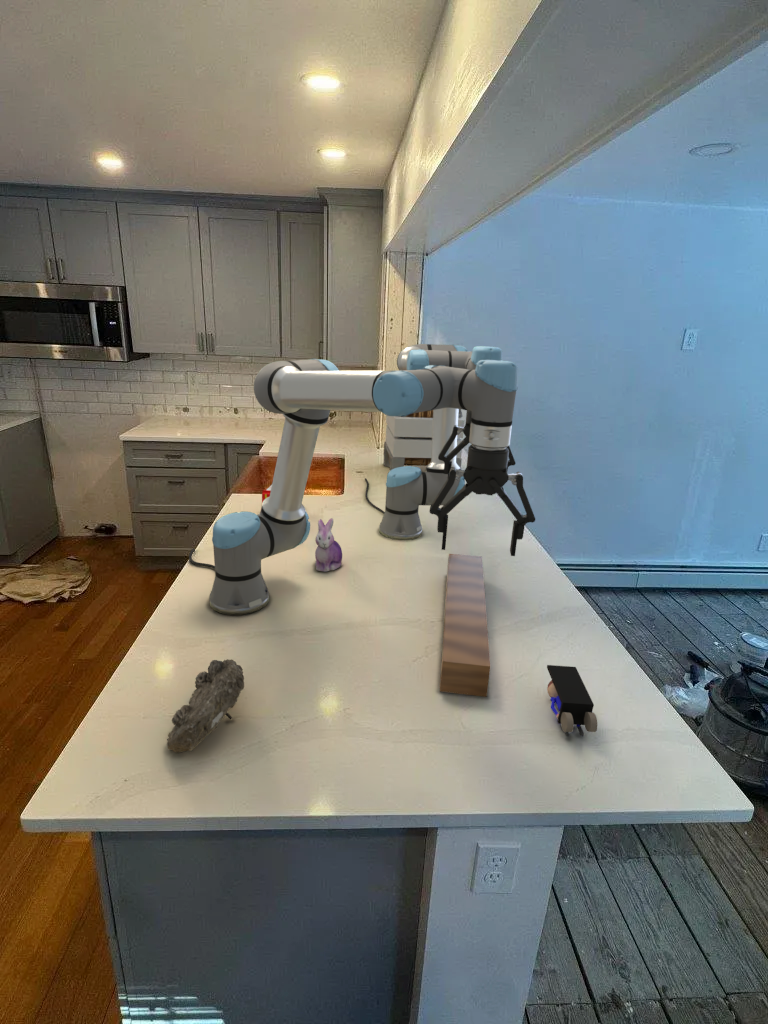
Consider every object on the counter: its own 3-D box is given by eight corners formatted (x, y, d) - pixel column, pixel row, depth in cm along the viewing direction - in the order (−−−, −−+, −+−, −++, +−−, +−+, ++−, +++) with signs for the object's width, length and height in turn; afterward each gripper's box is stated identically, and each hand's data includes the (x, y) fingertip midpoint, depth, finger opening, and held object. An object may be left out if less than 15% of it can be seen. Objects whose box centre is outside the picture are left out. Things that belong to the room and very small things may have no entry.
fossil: (192, 660, 117) (244, 628, 112) (224, 691, 120) (276, 661, 115) (142, 746, 98) (202, 712, 93) (182, 779, 101) (242, 748, 96)
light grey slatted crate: (382, 463, 289) (386, 382, 275) (445, 464, 293) (451, 384, 279) (390, 482, 257) (394, 392, 243) (460, 483, 261) (468, 394, 247)
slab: (446, 576, 170) (448, 553, 167) (479, 579, 169) (482, 556, 166) (439, 691, 118) (442, 661, 116) (486, 697, 117) (490, 666, 115)
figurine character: (595, 749, 106) (570, 690, 120) (603, 719, 103) (577, 662, 116) (559, 748, 106) (538, 690, 119) (567, 718, 103) (545, 662, 116)
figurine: (319, 575, 166) (320, 527, 161) (307, 561, 175) (307, 516, 170) (349, 569, 170) (350, 523, 165) (336, 556, 179) (336, 512, 174)
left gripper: (421, 445, 104) (414, 552, 111) (560, 455, 101) (544, 563, 108) (423, 437, 111) (416, 537, 118) (554, 446, 108) (539, 548, 115)
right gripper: (432, 408, 144) (426, 488, 151) (532, 414, 141) (521, 495, 148) (433, 403, 151) (428, 480, 158) (529, 409, 148) (519, 487, 155)
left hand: (477, 550), depth 113 cm, fingers open, 13 cm apart
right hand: (473, 487), depth 153 cm, fingers open, 13 cm apart
